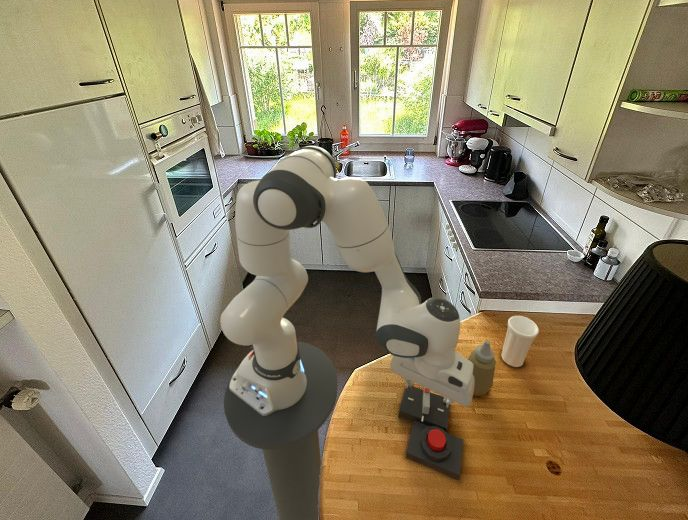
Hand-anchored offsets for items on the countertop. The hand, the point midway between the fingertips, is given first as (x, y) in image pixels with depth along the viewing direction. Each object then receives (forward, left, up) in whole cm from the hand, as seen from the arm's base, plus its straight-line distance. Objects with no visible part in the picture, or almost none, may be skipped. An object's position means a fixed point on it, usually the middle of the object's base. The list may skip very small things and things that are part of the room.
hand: (427, 395), depth 82 cm
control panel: (0, 0, -7) cm, 7 cm away
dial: (0, 0, -4) cm, 4 cm away
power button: (+4, -9, -3) cm, 10 cm away
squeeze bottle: (+12, +12, -7) cm, 19 cm away
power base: (+4, -9, -7) cm, 12 cm away
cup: (+22, +26, -7) cm, 35 cm away
